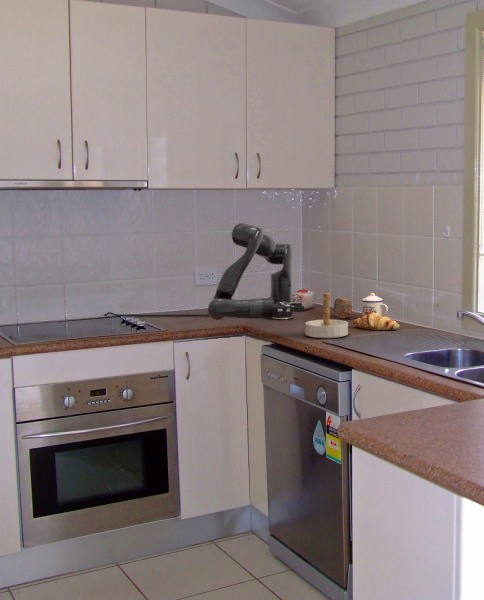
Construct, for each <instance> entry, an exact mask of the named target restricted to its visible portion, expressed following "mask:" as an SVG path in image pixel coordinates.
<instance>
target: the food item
mask: <svg viewBox="0 0 484 600" xmlns="http://www.w3.org/2000/svg"><path fill="white" fill-rule="evenodd" d="M292 303H302V306H304V311H306V310H312V309H314V308H315V306H316V304H315V292H314V291H312V290H308V289H306V288H303V289H299V288H297V289H296V293H292Z"/></svg>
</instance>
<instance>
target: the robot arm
mask: <svg viewBox="0 0 484 600" xmlns="http://www.w3.org/2000/svg"><path fill="white" fill-rule="evenodd" d="M230 236H231V240H232V242H233V244H234V245H236V246H239V247H242V248H245V250H244V252H243V254H241V256H240V257H238V258H237V259H236V260H235V261H234V262H232V263H231V264H230V265H228V266H227V267H226V269H225V270H224V271H223V273H222V274H221V276H220V279H219V281H218V283H217V285H216V290H215V293H214V295H213V297H212V299H211V300H210V301H209V302H208V305H207V313H208V314H207V313H205V314H203V313H201V314H200V313H199V314H195V313H193V314H191V313H190V314H189V313H188V314H184V313H183V314H121V313H120V314H119V313H113V312H110V311H109V312H106V313H107V314H106V313H105V314H103V316H104V317H106V316H107V315H112V316H114V317H147V318H148V317H151V318H152V317H153V318H154V317H158V318H159V317H210V318H211V319H212V320H215V321H219V320H222V319H224V318H225V317H228V318H229V317H233V318H238V319H271V320H275V321H277V320H279V321H280V320H281V321H283V320H291V319H293V314H294V313H301V312H302V313H303V312H305V310H304V306H302V303H292V295H293V291H292V290H293V287H292V286H293V284H292V275H293V273H292V272H293V247H292V245H291V244H290V243H285V242H281V243H280V242H278V243H277V242H276V241H275V240H274V238H272V237H271V236H270V235H268V234H266V233H264V231H263V229H262V228H261V227H259V226H257V225H254V224H251V223H250V224H249V223H247V222H238V223H237V224H235V225H234V226H233V227H232V229H231V235H230ZM255 255H256V256H259V257H261V258H263V259H264V260H266V261H267V263H268V264H271V265H282V268H280V269H279V270H276V271H274V272H271V273H270V277H269V278H270V280H269V281H270V296H269V297H265V298H264V297H262V298H261V297H259V298H250V299H249V298H246V299H244V298H243V299H242V298H241V299H233V297H234V294H235V293H236V290H237V288H238V285H239V284H240V281H241V278H242V277H243V275H244V273H245V271H246V269H247V268H248V266H249V265H250V263H251V262H252V260H253V258H254V256H255Z"/></svg>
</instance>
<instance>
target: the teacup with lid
mask: <svg viewBox="0 0 484 600" xmlns="http://www.w3.org/2000/svg"><path fill="white" fill-rule="evenodd" d="M383 301H384V299H383V298H381V297H380V296H377V295H376V294H375V293H374V292H370V293H369V295H367V296H366V297H363V298H362V300H361V302H362V317H364V316H368V315H369V314H370V313H371V312H373V313H378V314H380V315H381V316H386V315H387V314H388V311H389V307H388V305H387V304H386V303H383ZM383 307H385V311H384V312H383Z"/></svg>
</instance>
